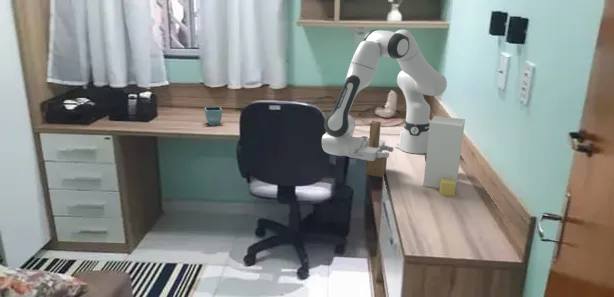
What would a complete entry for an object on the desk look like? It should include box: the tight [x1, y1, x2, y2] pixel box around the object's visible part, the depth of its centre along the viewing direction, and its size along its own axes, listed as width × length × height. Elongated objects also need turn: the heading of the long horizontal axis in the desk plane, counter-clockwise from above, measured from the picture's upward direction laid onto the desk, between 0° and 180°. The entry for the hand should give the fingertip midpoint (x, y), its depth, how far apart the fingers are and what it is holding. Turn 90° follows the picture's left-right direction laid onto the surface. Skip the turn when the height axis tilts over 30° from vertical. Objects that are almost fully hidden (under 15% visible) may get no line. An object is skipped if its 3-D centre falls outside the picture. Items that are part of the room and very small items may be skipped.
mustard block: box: [438, 179, 457, 197], centre depth 191 cm, size 5×5×5 cm
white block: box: [423, 115, 466, 189], centre depth 198 cm, size 12×12×26 cm
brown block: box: [365, 120, 388, 178], centre depth 208 cm, size 7×22×7 cm
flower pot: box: [204, 106, 223, 126], centre depth 279 cm, size 9×9×9 cm
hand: (391, 152), depth 206 cm, fingers open, 7 cm apart
